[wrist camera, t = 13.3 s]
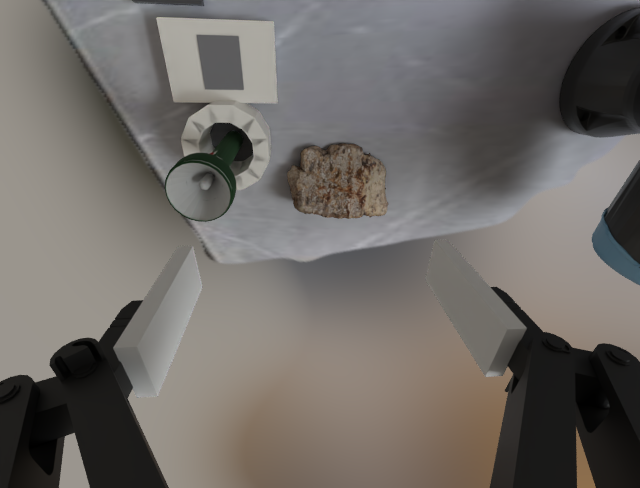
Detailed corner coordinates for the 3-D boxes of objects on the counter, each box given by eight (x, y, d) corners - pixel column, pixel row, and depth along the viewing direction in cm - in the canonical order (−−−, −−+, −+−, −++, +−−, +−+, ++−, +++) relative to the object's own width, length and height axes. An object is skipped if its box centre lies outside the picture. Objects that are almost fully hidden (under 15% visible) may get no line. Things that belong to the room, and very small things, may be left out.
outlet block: (274, 23, 34) (272, 16, 29) (281, 173, 43) (281, 189, 38) (164, 20, 33) (140, 11, 28) (194, 174, 42) (181, 191, 36)
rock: (286, 206, 46) (286, 223, 41) (289, 137, 41) (290, 147, 36) (381, 212, 48) (391, 229, 44) (395, 147, 43) (410, 157, 38)
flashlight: (244, 112, 39) (213, 150, 22) (260, 150, 41) (243, 211, 24) (207, 125, 39) (148, 173, 22) (226, 162, 42) (185, 231, 25)
